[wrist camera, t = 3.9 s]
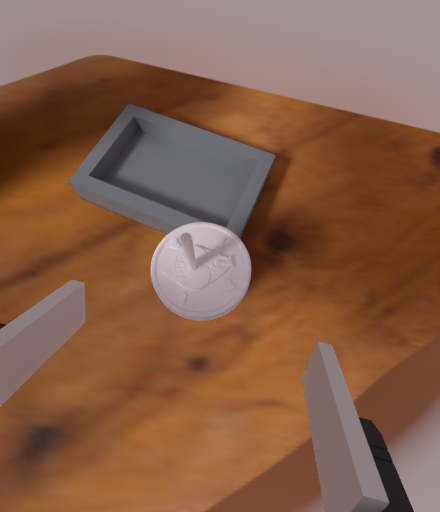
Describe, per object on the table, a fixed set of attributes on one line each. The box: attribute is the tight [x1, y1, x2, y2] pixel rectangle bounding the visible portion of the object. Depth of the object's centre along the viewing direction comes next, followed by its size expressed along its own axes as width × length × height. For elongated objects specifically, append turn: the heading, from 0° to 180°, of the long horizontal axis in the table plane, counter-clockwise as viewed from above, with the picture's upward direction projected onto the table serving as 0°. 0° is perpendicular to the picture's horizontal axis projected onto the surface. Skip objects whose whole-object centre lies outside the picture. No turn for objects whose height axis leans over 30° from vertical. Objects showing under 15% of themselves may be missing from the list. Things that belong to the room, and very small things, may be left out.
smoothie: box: [151, 222, 251, 321], centre depth 18 cm, size 6×6×14 cm
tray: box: [67, 103, 276, 240], centre depth 28 cm, size 18×12×3 cm, turn 67°
